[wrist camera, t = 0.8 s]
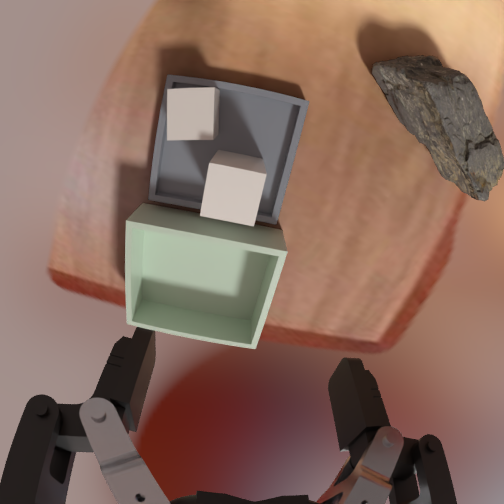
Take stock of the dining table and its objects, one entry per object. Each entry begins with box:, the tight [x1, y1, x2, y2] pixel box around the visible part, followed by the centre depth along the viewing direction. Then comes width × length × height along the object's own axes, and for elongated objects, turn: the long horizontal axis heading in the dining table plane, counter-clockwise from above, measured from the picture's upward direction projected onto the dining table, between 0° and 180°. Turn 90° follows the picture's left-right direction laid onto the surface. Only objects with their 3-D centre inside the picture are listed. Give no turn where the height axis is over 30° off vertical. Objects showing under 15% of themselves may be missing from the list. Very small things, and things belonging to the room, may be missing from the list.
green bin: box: [125, 203, 287, 349], centre depth 29 cm, size 12×14×4 cm
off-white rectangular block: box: [200, 150, 267, 226], centre depth 23 cm, size 4×4×6 cm
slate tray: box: [148, 75, 309, 225], centre depth 25 cm, size 12×12×2 cm
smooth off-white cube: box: [167, 87, 220, 141], centre depth 22 cm, size 4×4×4 cm
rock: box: [372, 55, 504, 201], centre depth 21 cm, size 17×7×10 cm
